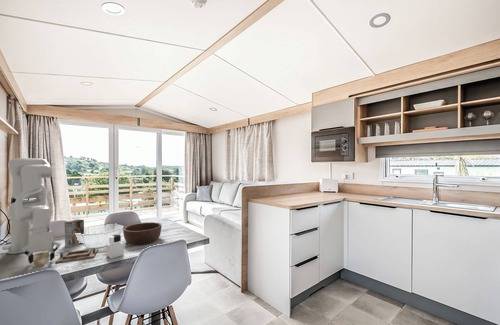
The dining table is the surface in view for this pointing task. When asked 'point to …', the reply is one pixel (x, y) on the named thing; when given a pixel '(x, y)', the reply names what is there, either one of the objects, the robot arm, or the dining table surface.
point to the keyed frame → (77, 255)
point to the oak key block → (41, 258)
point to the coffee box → (73, 232)
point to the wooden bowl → (142, 233)
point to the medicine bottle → (114, 247)
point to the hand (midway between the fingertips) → (41, 261)
